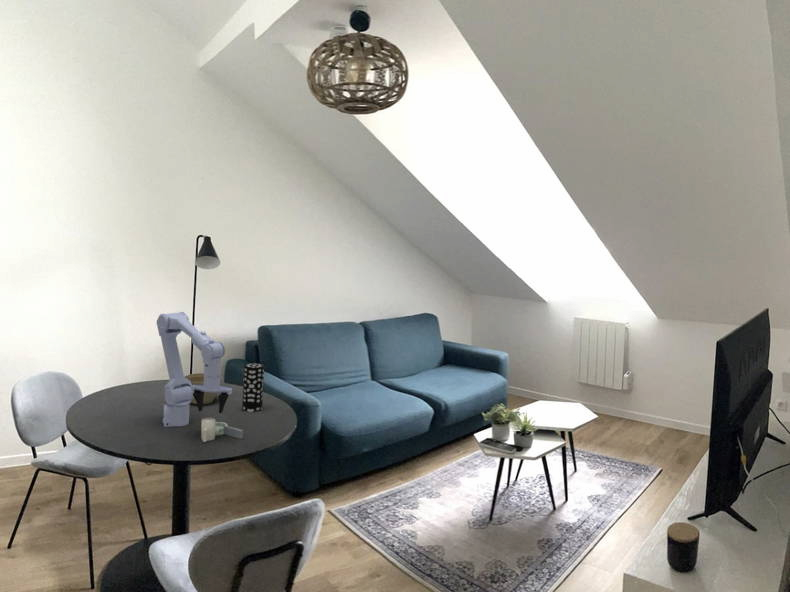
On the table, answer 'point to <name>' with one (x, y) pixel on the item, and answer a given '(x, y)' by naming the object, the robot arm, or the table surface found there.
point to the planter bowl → (199, 380)
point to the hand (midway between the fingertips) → (210, 411)
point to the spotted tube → (253, 387)
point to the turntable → (227, 430)
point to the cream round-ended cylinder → (208, 429)
